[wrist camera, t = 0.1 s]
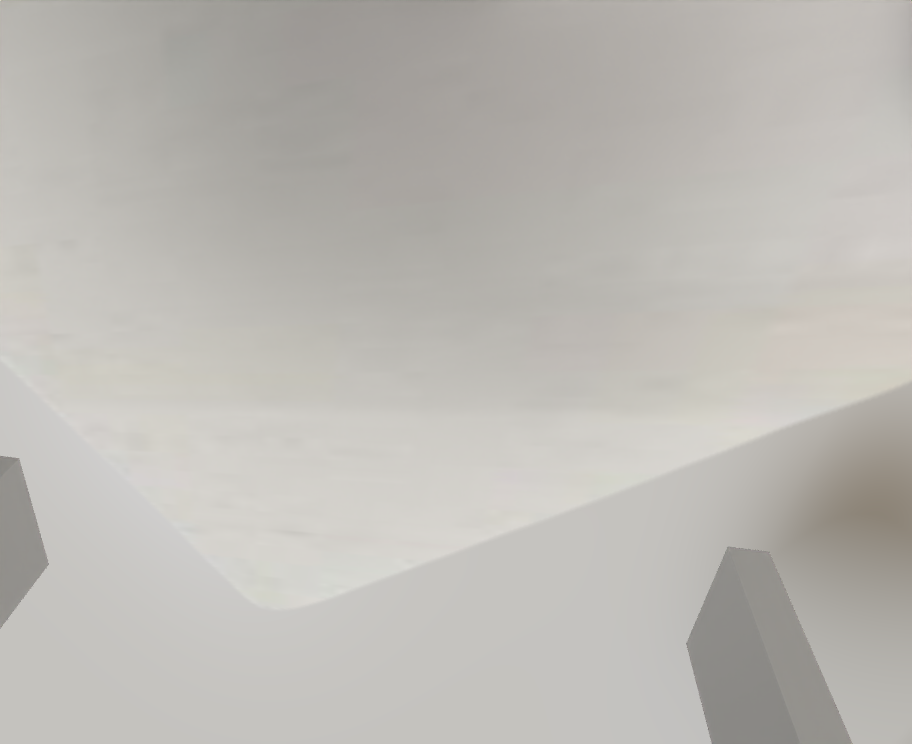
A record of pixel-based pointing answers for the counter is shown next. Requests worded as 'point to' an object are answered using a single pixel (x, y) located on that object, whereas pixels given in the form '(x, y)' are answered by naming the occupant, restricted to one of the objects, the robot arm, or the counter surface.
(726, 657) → the robot arm
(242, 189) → the counter surface
